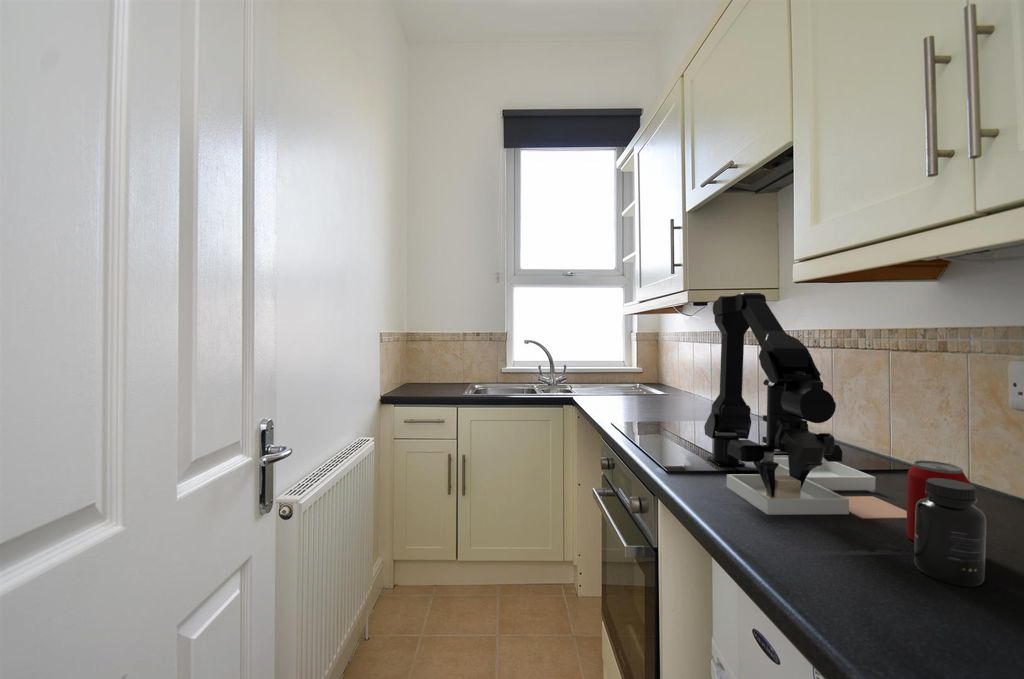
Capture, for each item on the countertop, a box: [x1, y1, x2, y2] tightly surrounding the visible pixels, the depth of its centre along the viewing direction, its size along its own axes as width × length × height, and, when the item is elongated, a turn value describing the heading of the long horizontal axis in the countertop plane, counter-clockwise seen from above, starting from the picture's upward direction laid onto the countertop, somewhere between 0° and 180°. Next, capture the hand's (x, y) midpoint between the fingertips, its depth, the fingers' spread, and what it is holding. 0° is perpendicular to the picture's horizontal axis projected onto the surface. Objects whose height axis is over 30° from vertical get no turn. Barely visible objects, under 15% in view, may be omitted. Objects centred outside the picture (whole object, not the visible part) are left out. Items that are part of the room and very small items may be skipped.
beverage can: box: [906, 460, 970, 543], centre depth 70 cm, size 7×7×12 cm
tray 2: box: [774, 457, 876, 493], centre depth 100 cm, size 14×14×3 cm
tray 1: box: [726, 473, 850, 516], centre depth 88 cm, size 14×14×3 cm
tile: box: [844, 495, 907, 520], centre depth 84 cm, size 10×10×1 cm
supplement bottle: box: [913, 478, 987, 587], centre depth 62 cm, size 7×7×12 cm
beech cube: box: [766, 475, 801, 499], centre depth 88 cm, size 4×4×4 cm
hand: (782, 496), depth 88 cm, fingers closed on beech cube, 4 cm apart
